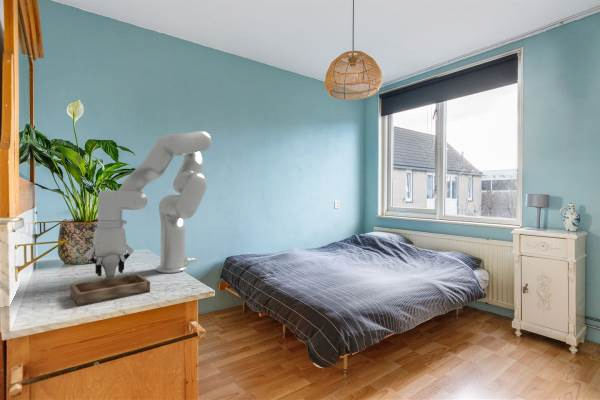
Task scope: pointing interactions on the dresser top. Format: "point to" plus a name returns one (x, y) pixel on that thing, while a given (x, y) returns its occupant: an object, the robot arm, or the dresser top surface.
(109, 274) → the lightbulb
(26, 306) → the dresser top surface
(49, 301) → the dresser top surface
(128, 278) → the walnut tray
